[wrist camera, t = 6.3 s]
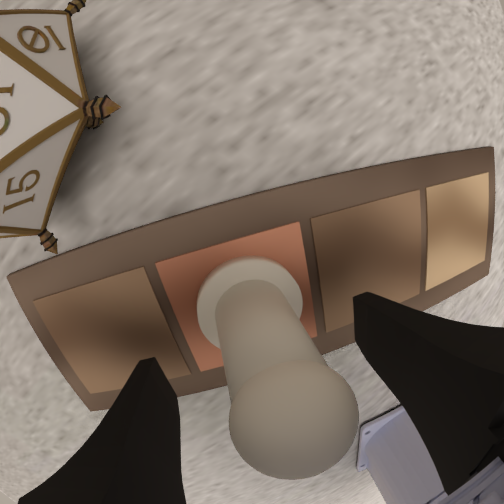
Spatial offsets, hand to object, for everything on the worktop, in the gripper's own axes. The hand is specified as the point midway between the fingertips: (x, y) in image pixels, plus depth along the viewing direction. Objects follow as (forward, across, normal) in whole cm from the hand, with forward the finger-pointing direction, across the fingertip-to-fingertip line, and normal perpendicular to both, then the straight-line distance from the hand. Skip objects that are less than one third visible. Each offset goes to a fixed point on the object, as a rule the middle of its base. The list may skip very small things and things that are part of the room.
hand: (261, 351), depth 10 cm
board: (+4, -3, 0) cm, 5 cm away
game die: (+4, +6, -10) cm, 12 cm away
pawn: (+3, 0, 0) cm, 3 cm away
